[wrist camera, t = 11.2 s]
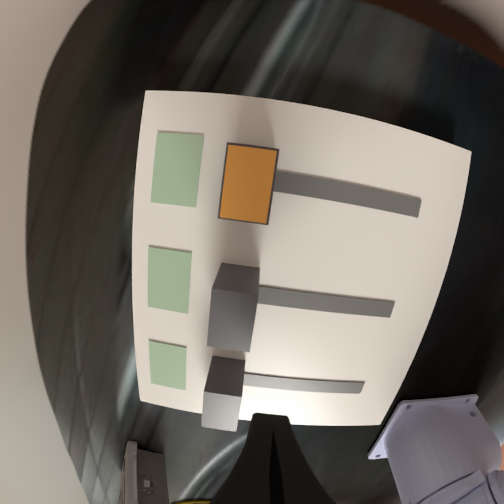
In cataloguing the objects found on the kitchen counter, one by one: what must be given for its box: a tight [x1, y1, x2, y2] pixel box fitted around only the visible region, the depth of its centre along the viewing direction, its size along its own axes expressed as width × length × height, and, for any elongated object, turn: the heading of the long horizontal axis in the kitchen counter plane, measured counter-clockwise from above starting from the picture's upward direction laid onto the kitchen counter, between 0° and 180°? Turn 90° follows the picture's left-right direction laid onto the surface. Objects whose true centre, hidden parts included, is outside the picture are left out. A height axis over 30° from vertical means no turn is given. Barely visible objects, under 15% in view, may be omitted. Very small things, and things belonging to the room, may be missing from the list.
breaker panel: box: [132, 91, 471, 432], centre depth 16 cm, size 18×20×5 cm
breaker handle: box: [218, 142, 280, 225], centre depth 13 cm, size 2×3×3 cm, turn 172°
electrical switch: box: [118, 441, 169, 504], centre depth 22 cm, size 9×5×9 cm, turn 158°
